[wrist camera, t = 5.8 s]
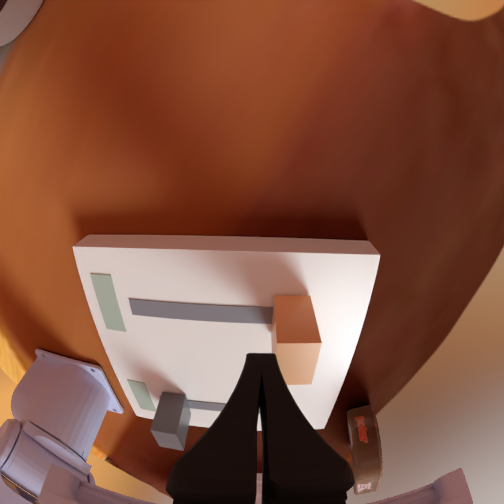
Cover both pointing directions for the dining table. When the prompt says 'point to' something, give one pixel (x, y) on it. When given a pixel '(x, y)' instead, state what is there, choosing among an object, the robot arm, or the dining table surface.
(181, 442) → the gray rectangular block
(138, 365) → the board
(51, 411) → the robot arm
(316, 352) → the switch
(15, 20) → the coffee cup
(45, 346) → the dining table surface
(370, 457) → the tin
